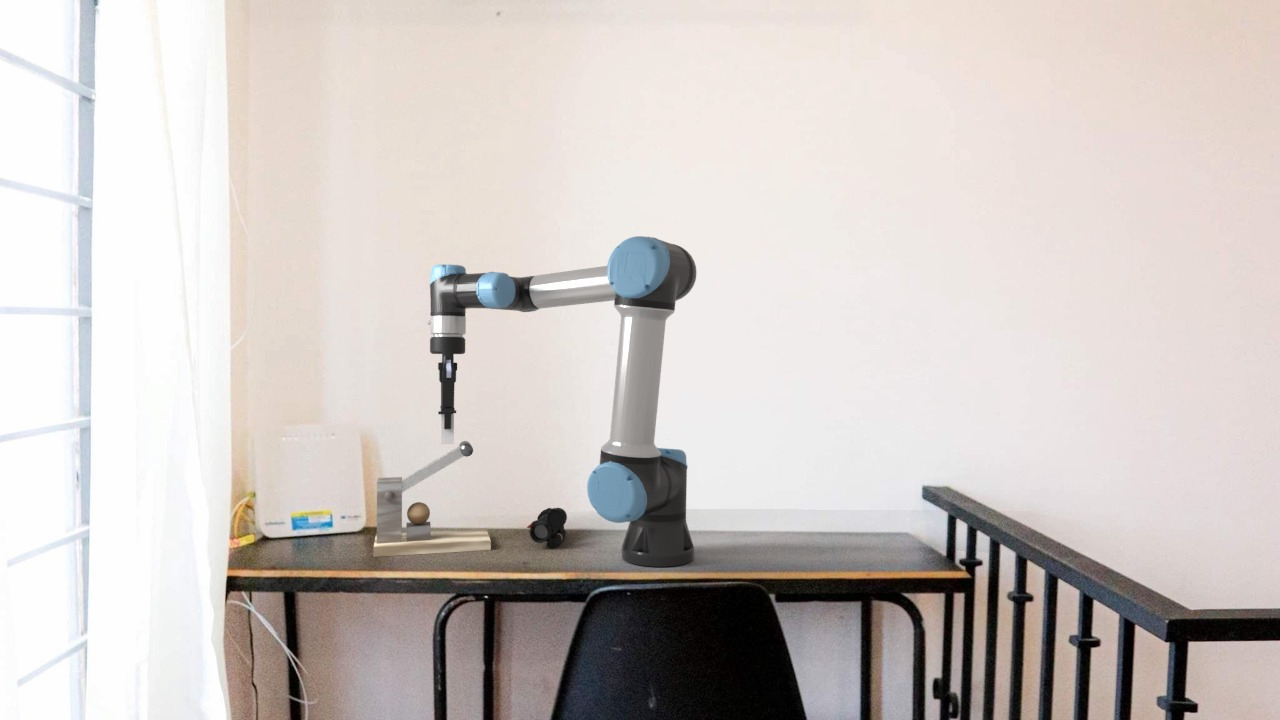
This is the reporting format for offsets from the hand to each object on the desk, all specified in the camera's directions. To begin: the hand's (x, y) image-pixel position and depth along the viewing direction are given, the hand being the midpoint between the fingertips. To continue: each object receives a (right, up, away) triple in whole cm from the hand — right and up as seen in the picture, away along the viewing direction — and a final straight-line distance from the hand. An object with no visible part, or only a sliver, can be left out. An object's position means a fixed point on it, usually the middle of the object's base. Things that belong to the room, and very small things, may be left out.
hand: (447, 443), depth 176 cm
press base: (-3, -22, -1) cm, 23 cm away
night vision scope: (+22, -23, +5) cm, 32 cm away
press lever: (-3, -7, -1) cm, 8 cm away
